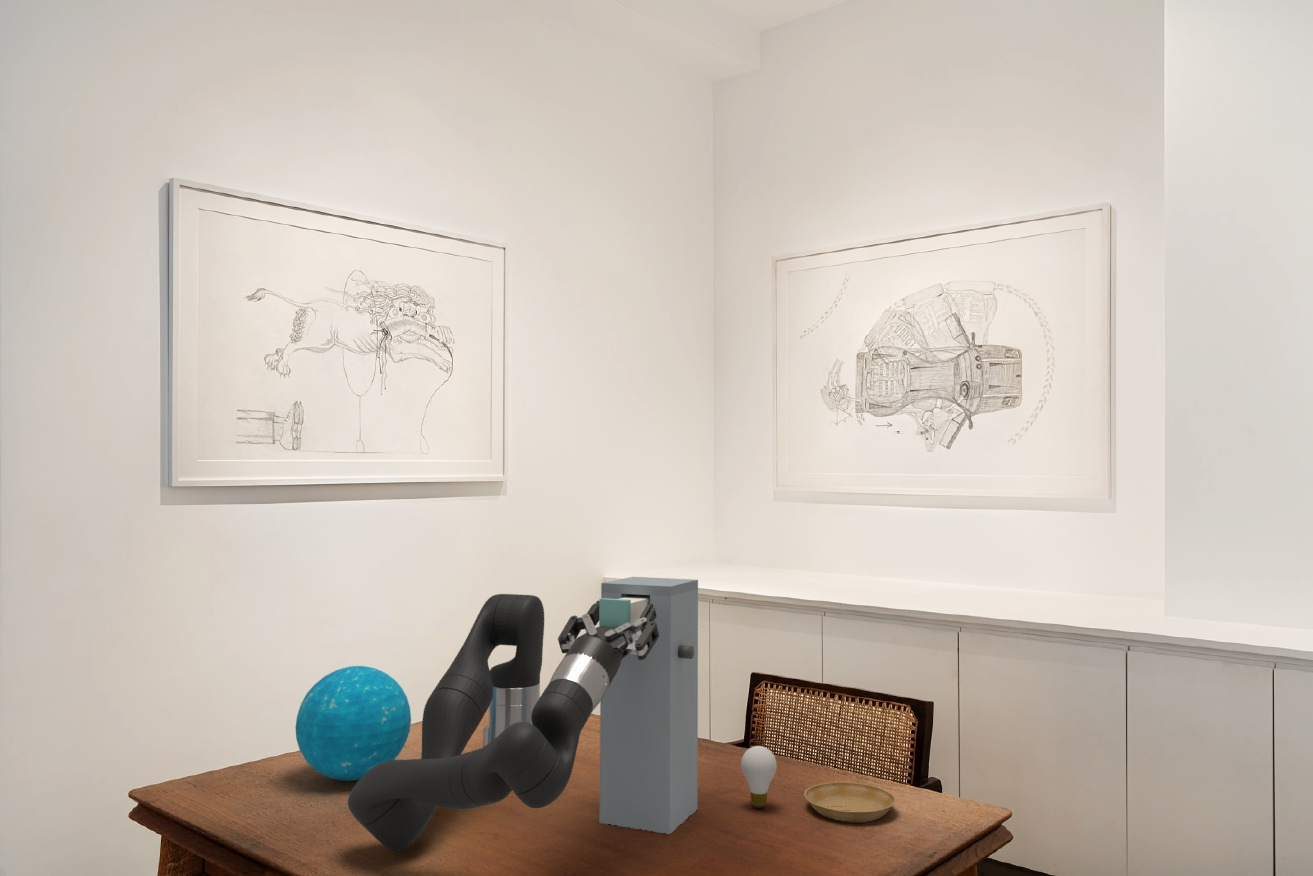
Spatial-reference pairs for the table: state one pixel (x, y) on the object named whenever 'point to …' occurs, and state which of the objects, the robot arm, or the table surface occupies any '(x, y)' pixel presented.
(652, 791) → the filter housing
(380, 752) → the decorative sphere
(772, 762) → the light bulb
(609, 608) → the block
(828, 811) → the plant saucer
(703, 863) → the table surface
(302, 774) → the table surface
